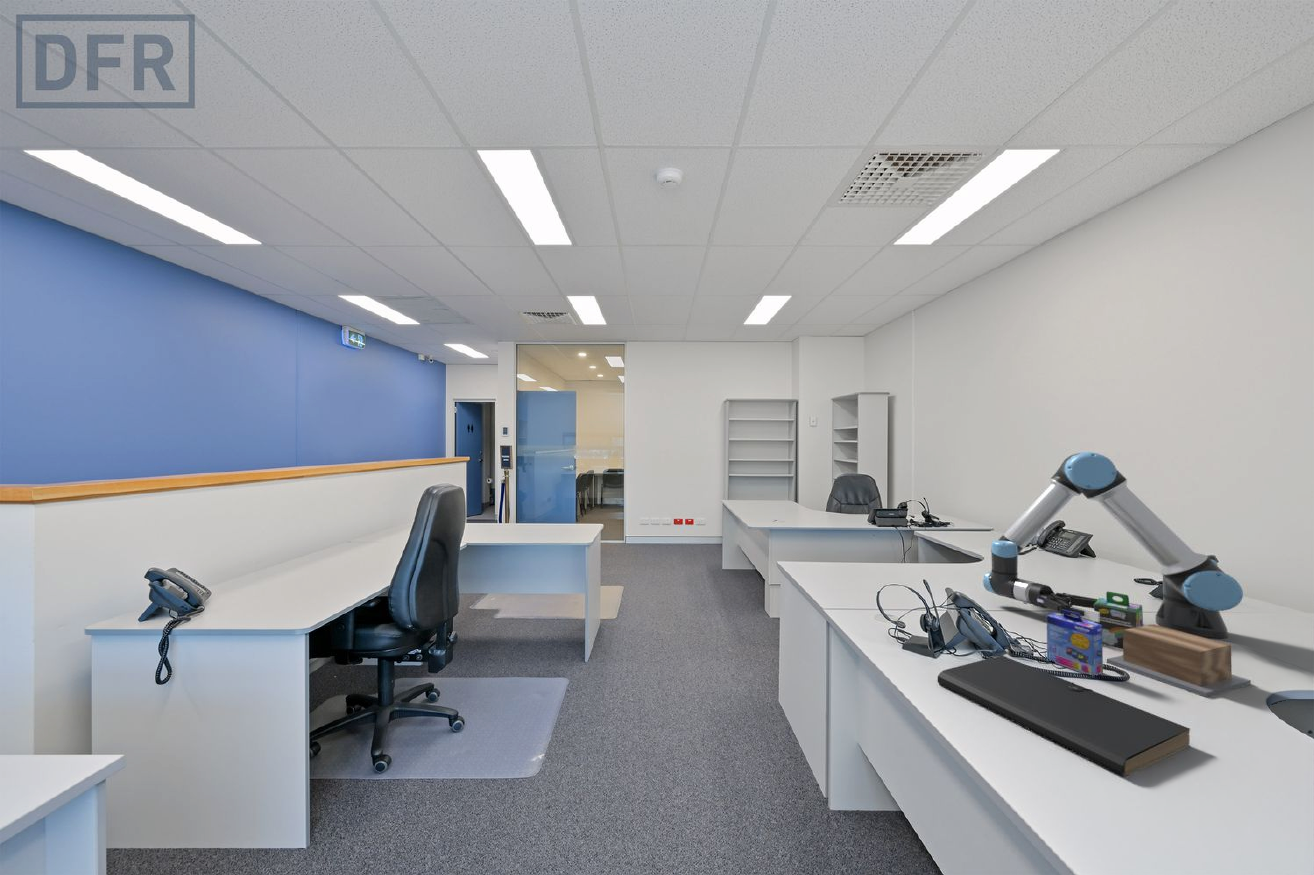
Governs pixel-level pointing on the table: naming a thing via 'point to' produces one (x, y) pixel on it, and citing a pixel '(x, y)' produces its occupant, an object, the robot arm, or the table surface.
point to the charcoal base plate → (1203, 690)
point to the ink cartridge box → (1075, 643)
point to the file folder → (1069, 713)
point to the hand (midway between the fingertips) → (1113, 615)
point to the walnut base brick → (1178, 654)
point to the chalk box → (1117, 617)
